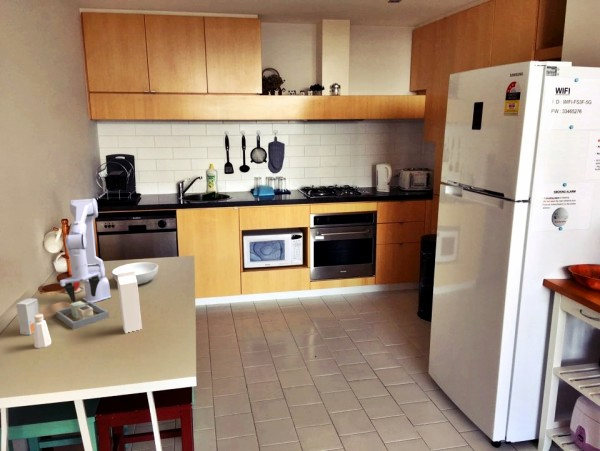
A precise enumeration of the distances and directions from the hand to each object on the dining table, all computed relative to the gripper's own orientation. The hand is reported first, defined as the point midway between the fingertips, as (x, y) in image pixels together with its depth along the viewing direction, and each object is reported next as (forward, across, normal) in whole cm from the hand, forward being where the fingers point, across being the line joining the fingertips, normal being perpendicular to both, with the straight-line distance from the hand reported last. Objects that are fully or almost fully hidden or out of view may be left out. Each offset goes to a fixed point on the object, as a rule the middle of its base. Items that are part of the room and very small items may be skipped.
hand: (83, 298), depth 183 cm
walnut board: (+9, -6, +19) cm, 21 cm away
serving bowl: (+9, +35, +27) cm, 45 cm away
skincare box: (+9, -18, +6) cm, 21 cm away
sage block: (+9, 0, +7) cm, 11 cm away
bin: (+9, 0, +4) cm, 10 cm away
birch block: (+9, 0, 0) cm, 9 cm away
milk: (+9, +8, -21) cm, 25 cm away
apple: (+9, +10, +38) cm, 40 cm away
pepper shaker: (+9, -19, -9) cm, 23 cm away
